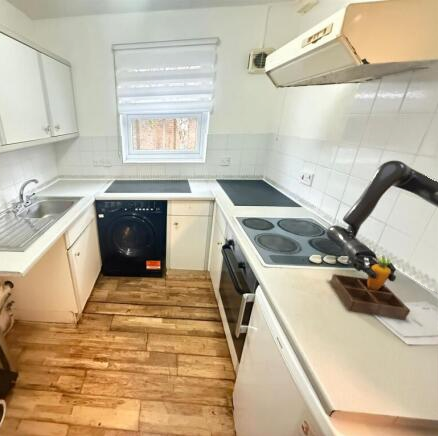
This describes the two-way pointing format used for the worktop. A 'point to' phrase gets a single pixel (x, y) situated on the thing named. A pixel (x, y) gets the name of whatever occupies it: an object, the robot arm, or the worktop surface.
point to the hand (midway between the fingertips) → (383, 277)
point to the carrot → (379, 274)
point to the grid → (368, 297)
